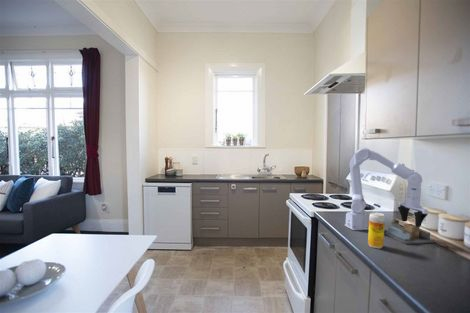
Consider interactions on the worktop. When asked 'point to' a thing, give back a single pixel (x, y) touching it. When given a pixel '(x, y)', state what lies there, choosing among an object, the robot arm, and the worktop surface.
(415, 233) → the block
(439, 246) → the worktop surface
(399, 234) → the sliding jaw
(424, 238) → the vise
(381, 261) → the worktop surface
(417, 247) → the worktop surface
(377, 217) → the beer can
